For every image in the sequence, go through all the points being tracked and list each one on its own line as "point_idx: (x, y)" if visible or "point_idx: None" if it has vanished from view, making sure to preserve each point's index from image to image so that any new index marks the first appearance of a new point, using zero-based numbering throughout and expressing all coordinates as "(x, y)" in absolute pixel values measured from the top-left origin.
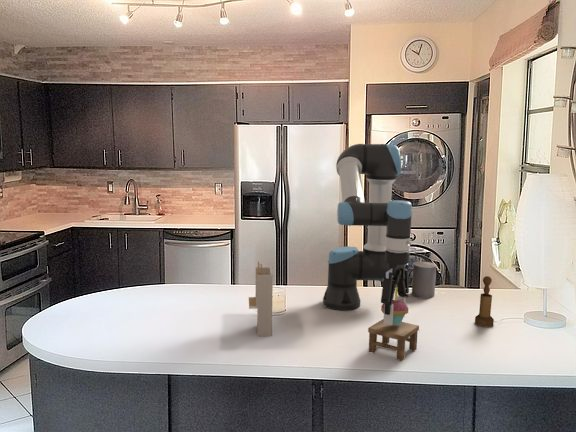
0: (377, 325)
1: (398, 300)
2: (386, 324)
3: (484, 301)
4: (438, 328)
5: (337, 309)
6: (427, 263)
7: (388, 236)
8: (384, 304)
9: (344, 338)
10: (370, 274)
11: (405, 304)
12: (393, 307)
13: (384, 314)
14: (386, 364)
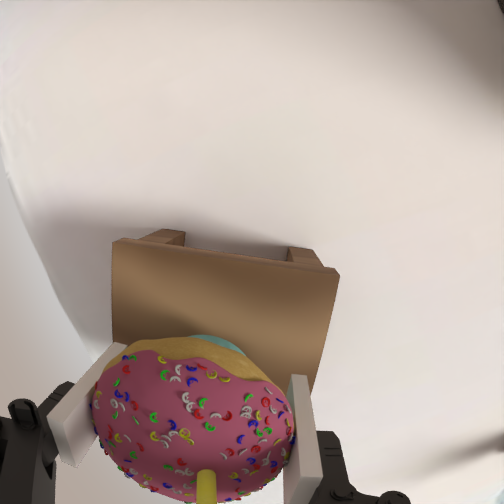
0: (175, 278)
1: (294, 462)
2: (222, 319)
3: None
4: (494, 370)
5: (502, 8)
6: None
7: None
8: (51, 411)
9: (253, 82)
10: None
11: (221, 502)
12: (105, 450)
13: (88, 373)
14: (103, 319)
